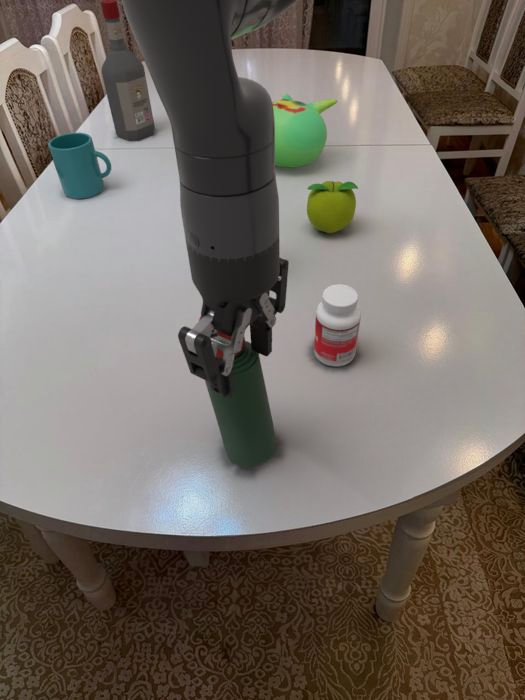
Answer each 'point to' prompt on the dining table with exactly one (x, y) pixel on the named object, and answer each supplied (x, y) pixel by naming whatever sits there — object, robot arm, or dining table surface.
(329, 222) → the fruit
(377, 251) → the dining table surface
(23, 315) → the dining table surface
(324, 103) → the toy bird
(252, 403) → the bottle
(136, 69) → the liquor
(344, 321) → the pill bottle
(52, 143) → the cup
